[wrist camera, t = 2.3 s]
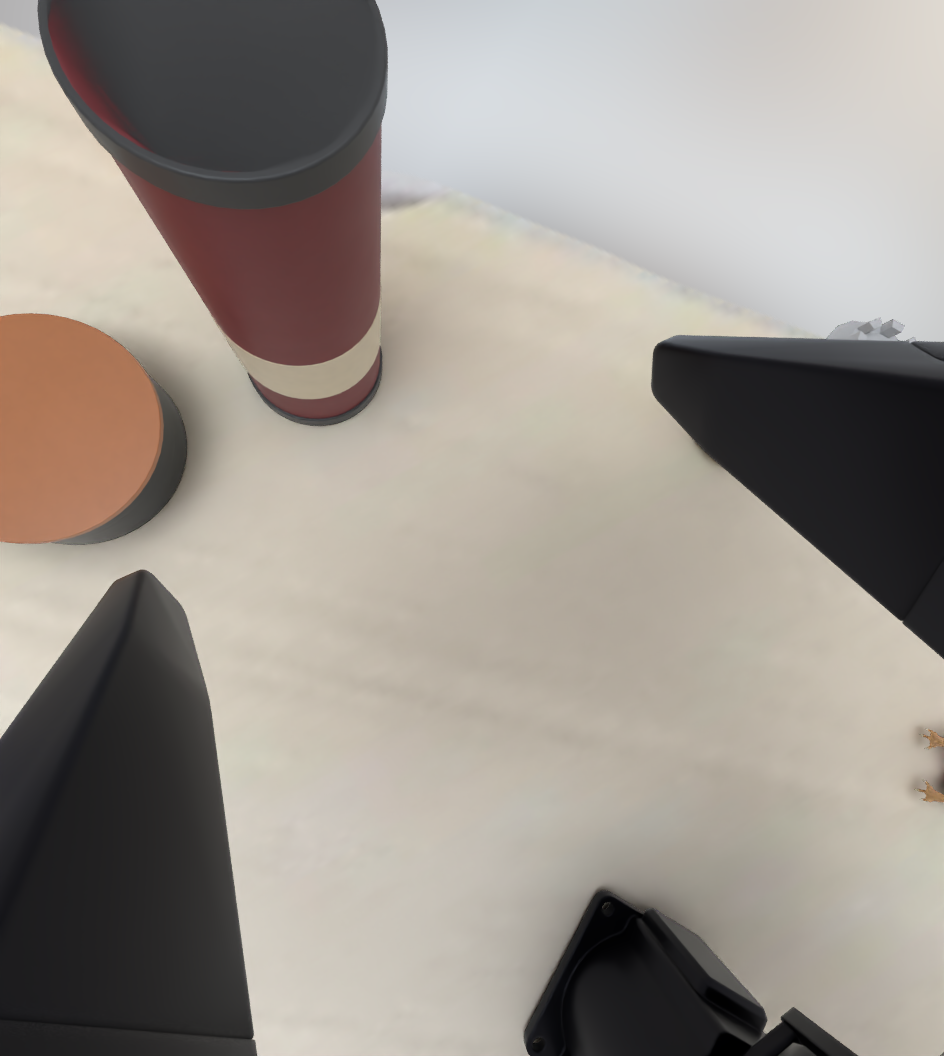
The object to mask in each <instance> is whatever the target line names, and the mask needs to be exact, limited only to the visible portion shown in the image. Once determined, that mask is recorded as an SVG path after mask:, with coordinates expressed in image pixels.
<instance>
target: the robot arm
mask: <svg viewBox="0 0 944 1056" xmlns="http://www.w3.org/2000/svg"><path fill="white" fill-rule="evenodd" d="M651 388H652V392H653V395H654V396H655V398H656V399H657V401H658V402H659V403H660V404H661V405H662V406H663V407H664V408H665V409H666V410H667V411H668V412H669V414H670V415H671V416H672V417H673V418H674V419H675V420H676V421H677V422H678V423H679V424H680V425H681V426H682V428H683V429H684V430H685V431H686V432H687V433H688V434H689V435H690V436H691V437H692V438H693V439H694V440H695V442H696V443H697V444H698V445H699V446H700V447H701V448H702V449H703V450H704V451H705V452H706V453H707V454H708V455H710V456H711V457H712V458H713V459H714V460H715V461H716V462H717V463H718V464H720V465H721V466H722V467H723V468H724V469H725V470H727V471H728V472H729V473H730V474H731V475H732V476H733V477H735V478H736V479H737V480H738V481H739V482H740V483H742V484H743V485H744V486H745V487H746V488H747V489H749V490H750V491H751V492H752V493H753V494H754V495H755V496H757V497H758V498H759V499H760V500H761V501H762V502H764V503H765V504H766V505H767V506H768V507H769V508H770V509H772V510H773V511H774V512H775V513H776V514H777V515H779V516H780V517H781V518H782V519H783V520H784V521H785V522H787V523H788V524H789V525H790V526H791V527H792V528H794V529H795V530H796V531H797V532H798V533H799V534H801V535H802V536H803V537H804V538H805V539H806V540H807V541H809V542H810V543H811V544H812V545H813V546H814V547H816V548H817V549H818V550H819V551H820V552H821V553H822V554H824V555H825V556H826V557H827V558H828V559H829V560H831V561H832V562H833V563H834V564H835V565H836V566H838V567H839V568H840V569H841V570H842V571H843V572H844V573H846V574H847V575H848V576H849V577H850V578H851V579H853V580H854V581H855V582H856V583H857V584H858V585H859V586H861V587H862V588H863V589H864V590H865V591H866V592H868V593H869V594H870V595H871V596H872V597H873V598H874V599H876V600H877V601H878V602H879V603H880V604H881V605H883V606H884V607H885V608H886V609H887V610H888V611H890V612H891V613H892V614H893V615H894V616H895V617H896V618H898V619H899V620H900V621H903V624H904V625H905V626H906V627H907V628H908V629H910V630H911V631H912V632H913V633H914V634H915V635H917V636H918V637H919V638H920V639H921V640H922V641H924V642H925V643H926V644H927V645H928V646H929V647H930V648H932V649H933V650H934V651H935V652H936V653H937V654H939V655H940V656H941V657H942V658H943V659H944V342H924V341H923V342H922V341H913V342H911V343H909V342H907V341H882V340H844V339H805V338H767V337H728V336H690V335H677V336H673V337H671V338H669V339H667V340H664V341H662V342H660V343H658V344H657V345H656V346H655V349H654V351H653V362H652V381H651ZM607 902H610V903H609V906H608V907H607V909H604V910H603V909H602V907H603V905H604V904H605V903H607ZM781 1020H782V1022H781V1023H780V1024H779V1025H777V1026H776V1027H775V1028H774V1029H773V1030H771V1031H770V1032H769V1033H768V1034H765V1033H764V1032H763V1029H764V1027H765V1025H766V1022H767V1016H766V1013H765V1010H764V1008H763V1007H762V1006H761V1005H760V1004H759V1003H758V1001H757V1000H756V999H755V998H754V997H753V996H752V995H751V994H750V993H749V991H748V990H747V989H746V988H745V987H744V986H743V985H742V984H741V983H740V981H739V980H738V979H737V978H736V977H735V976H734V975H733V974H732V973H731V971H730V970H729V969H728V968H727V967H726V966H725V965H724V964H723V963H722V961H721V960H720V959H719V958H718V957H717V956H716V955H715V954H714V953H713V951H712V950H711V949H710V948H709V947H708V946H707V945H706V944H705V943H704V941H703V940H702V939H701V938H700V937H699V936H698V935H696V934H695V933H693V932H691V931H690V930H688V929H687V928H685V927H683V926H682V925H680V924H678V923H677V922H675V921H673V920H672V919H670V918H668V917H667V916H665V915H664V914H662V913H660V912H659V911H657V910H655V909H654V908H652V909H646V911H645V913H644V912H643V911H641V910H639V909H638V908H636V907H634V906H633V905H631V904H629V903H628V902H626V901H625V900H623V899H621V898H620V897H618V896H616V895H615V894H613V893H611V892H610V891H607V890H602V891H600V892H598V893H597V894H596V895H595V896H594V898H593V900H592V902H591V904H590V906H589V908H588V910H587V912H586V913H585V915H584V917H583V919H582V921H581V923H580V925H579V927H578V929H577V931H576V933H575V935H574V937H573V939H572V941H571V943H570V945H569V946H568V948H567V950H566V952H565V954H564V956H563V958H562V960H561V962H560V964H559V966H558V968H557V970H556V972H555V974H554V976H553V978H552V980H551V981H550V983H549V985H548V987H547V989H546V991H545V993H544V995H543V997H542V999H541V1001H540V1003H539V1005H538V1007H537V1009H536V1011H535V1013H534V1014H533V1016H532V1018H531V1020H530V1022H529V1024H528V1026H527V1028H526V1030H525V1033H524V1043H525V1046H526V1049H527V1052H528V1054H529V1055H530V1056H858V1055H856V1054H855V1053H854V1052H852V1051H851V1050H850V1049H848V1048H847V1047H846V1046H844V1045H843V1044H842V1043H840V1042H839V1041H838V1040H836V1039H835V1038H834V1037H832V1036H831V1035H830V1034H828V1033H827V1032H826V1031H825V1030H823V1029H822V1028H821V1027H819V1026H818V1025H817V1024H815V1023H814V1022H813V1021H811V1020H810V1019H809V1018H807V1017H806V1016H805V1015H803V1014H802V1013H801V1012H799V1011H798V1010H797V1009H795V1008H794V1007H793V1008H791V1009H790V1010H789V1011H788V1012H786V1013H785V1014H784V1015H783V1016H781ZM253 1036H254V1031H253V1024H252V1016H251V1009H250V1001H249V994H248V986H247V978H246V971H245V963H244V956H243V948H242V940H241V933H240V925H239V918H238V910H237V903H236V895H235V887H234V880H233V872H232V865H231V857H230V850H229V842H228V834H227V827H226V819H225V812H224V804H223V796H222V789H221V781H220V774H219V766H218V759H217V751H216V743H215V736H214V728H213V721H212V713H211V707H210V701H209V696H208V692H207V688H206V684H205V681H204V677H203V674H202V670H201V666H200V663H199V659H198V656H197V652H196V649H195V645H194V641H193V638H192V634H191V631H190V627H189V623H188V620H187V616H186V614H185V611H184V609H183V608H182V606H181V605H180V603H179V602H178V601H177V600H176V599H175V598H174V597H173V595H172V594H171V593H170V592H169V591H168V590H167V589H166V588H165V587H164V586H163V585H162V584H161V583H160V582H159V580H158V579H157V578H156V577H155V576H154V575H153V574H152V573H150V572H149V571H147V570H139V571H136V572H134V573H132V574H129V575H127V576H125V577H122V578H120V579H118V580H116V581H115V582H114V583H113V584H112V585H111V587H110V588H109V589H108V591H107V592H106V594H105V595H104V596H103V598H102V599H101V600H100V602H99V603H98V605H97V606H96V607H95V609H94V610H93V611H92V613H91V614H90V616H89V617H88V618H87V620H86V621H85V623H84V624H83V625H82V627H81V628H80V629H79V631H78V632H77V634H76V635H75V636H74V638H73V639H72V640H71V642H70V643H69V645H68V646H67V647H66V649H65V650H64V652H63V653H62V654H61V656H60V657H59V658H58V660H57V661H56V663H55V664H54V665H53V667H52V668H51V669H50V671H49V672H48V674H47V675H46V676H45V678H44V679H43V680H42V682H41V683H40V685H39V686H38V687H37V689H36V690H35V692H34V693H33V694H32V696H31V697H30V698H29V700H28V701H27V703H26V704H25V705H24V707H23V708H22V709H21V711H20V712H19V714H18V715H17V716H16V718H15V719H14V721H13V722H12V723H11V725H10V726H9V727H8V729H7V730H6V732H5V733H4V734H3V736H2V737H1V738H0V1056H257V1051H256V1043H255V1040H253V1039H252V1038H253ZM539 1037H540V1038H541V1040H540V1041H539V1042H537V1043H533V1042H534V1040H535V1039H536V1038H539ZM940 1056H944V1052H943V1053H942V1054H941V1055H940Z"/></svg>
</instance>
